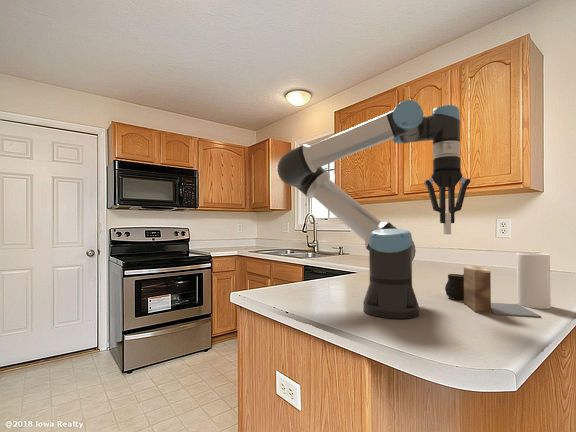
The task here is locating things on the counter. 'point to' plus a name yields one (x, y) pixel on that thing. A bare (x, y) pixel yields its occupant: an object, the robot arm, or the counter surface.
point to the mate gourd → (455, 286)
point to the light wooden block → (477, 289)
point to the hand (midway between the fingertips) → (447, 234)
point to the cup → (533, 280)
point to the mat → (511, 310)
